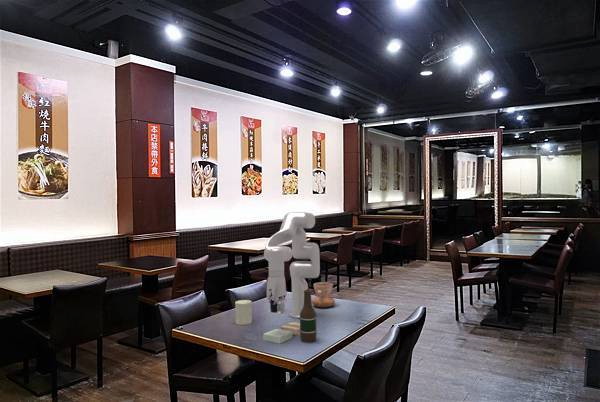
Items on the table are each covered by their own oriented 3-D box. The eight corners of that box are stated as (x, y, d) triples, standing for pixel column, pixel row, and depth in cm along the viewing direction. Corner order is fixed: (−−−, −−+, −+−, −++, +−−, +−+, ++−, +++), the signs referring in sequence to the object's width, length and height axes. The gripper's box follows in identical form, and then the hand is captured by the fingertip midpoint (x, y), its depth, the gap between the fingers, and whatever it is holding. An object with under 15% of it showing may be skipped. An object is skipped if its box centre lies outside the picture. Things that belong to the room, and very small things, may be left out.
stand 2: (292, 327, 229) (292, 321, 229) (308, 330, 223) (307, 324, 223) (280, 332, 220) (280, 326, 220) (296, 335, 215) (296, 329, 215)
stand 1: (276, 334, 217) (276, 328, 217) (292, 337, 211) (292, 331, 211) (263, 340, 209) (263, 333, 209) (279, 343, 203) (279, 337, 203)
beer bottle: (299, 337, 211) (298, 288, 211) (315, 337, 212) (314, 288, 212) (301, 343, 203) (300, 292, 203) (317, 342, 204) (316, 291, 204)
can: (249, 325, 235) (248, 303, 235) (233, 324, 237) (232, 302, 237) (254, 320, 244) (253, 299, 244) (238, 319, 246) (238, 298, 246)
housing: (274, 309, 214) (273, 297, 214) (287, 311, 210) (286, 299, 210) (267, 311, 210) (267, 299, 210) (280, 314, 206) (280, 301, 206)
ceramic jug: (330, 310, 262) (330, 287, 263) (307, 308, 268) (307, 285, 268) (338, 304, 279) (338, 282, 279) (317, 302, 285) (317, 280, 285)
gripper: (281, 270, 219) (281, 306, 219) (259, 275, 205) (260, 314, 205) (293, 271, 215) (293, 308, 215) (271, 277, 201) (272, 316, 201)
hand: (277, 310), depth 210 cm, fingers closed on housing, 5 cm apart
